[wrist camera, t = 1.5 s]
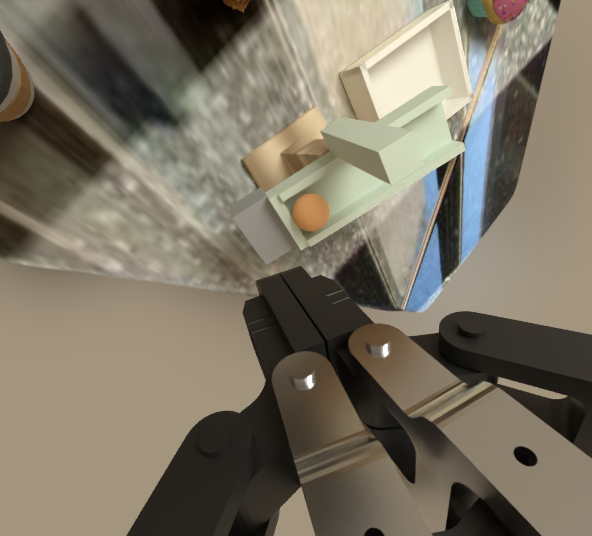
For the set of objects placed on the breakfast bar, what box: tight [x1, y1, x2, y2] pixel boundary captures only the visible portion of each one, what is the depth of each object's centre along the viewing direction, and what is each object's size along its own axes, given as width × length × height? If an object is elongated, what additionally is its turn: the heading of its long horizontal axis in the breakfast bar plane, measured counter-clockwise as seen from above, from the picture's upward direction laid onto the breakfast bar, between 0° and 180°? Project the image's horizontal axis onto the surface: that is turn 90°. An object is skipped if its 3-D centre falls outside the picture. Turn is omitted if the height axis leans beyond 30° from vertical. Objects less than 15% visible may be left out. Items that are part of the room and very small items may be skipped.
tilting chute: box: [230, 86, 465, 265], centre depth 29 cm, size 23×10×16 cm, turn 122°
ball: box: [292, 193, 330, 231], centre depth 32 cm, size 4×4×4 cm
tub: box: [339, 0, 473, 123], centre depth 46 cm, size 16×13×4 cm
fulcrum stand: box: [241, 106, 329, 192], centre depth 40 cm, size 12×10×11 cm
